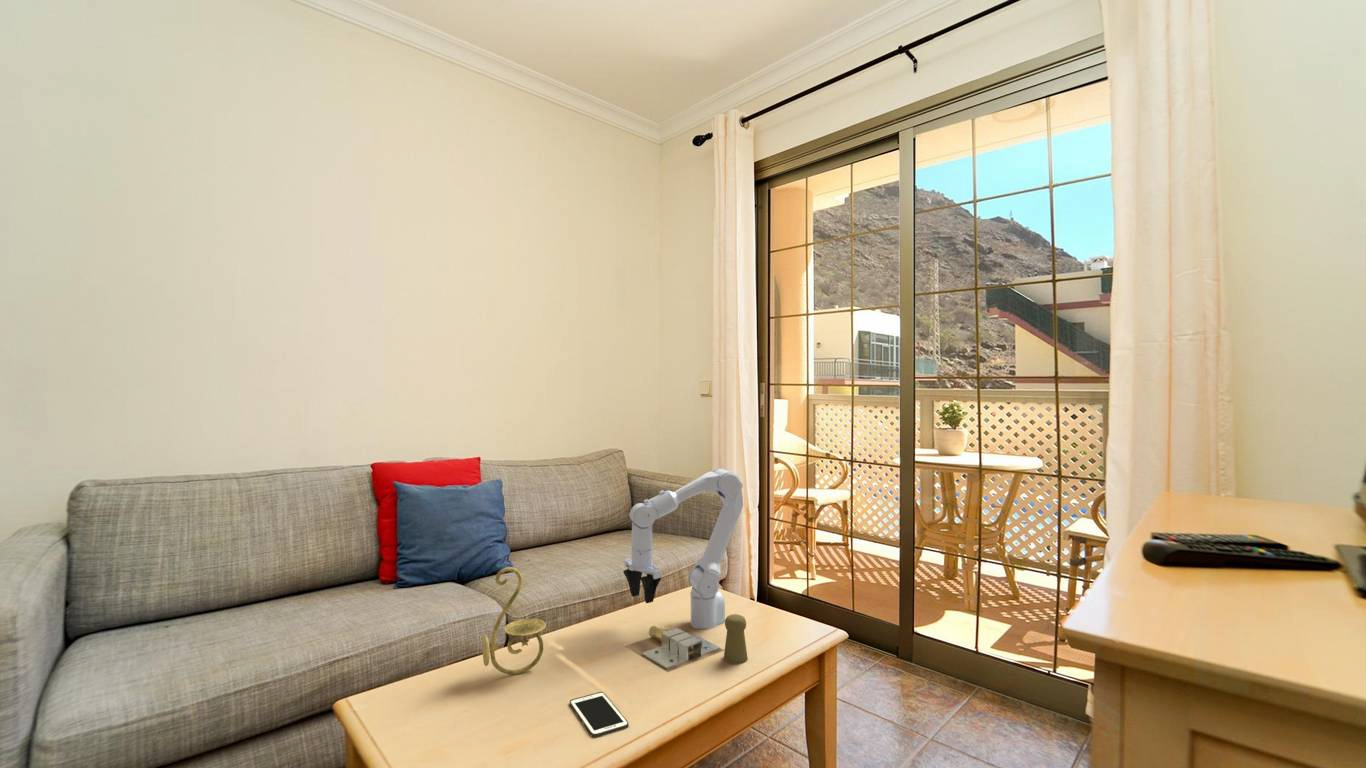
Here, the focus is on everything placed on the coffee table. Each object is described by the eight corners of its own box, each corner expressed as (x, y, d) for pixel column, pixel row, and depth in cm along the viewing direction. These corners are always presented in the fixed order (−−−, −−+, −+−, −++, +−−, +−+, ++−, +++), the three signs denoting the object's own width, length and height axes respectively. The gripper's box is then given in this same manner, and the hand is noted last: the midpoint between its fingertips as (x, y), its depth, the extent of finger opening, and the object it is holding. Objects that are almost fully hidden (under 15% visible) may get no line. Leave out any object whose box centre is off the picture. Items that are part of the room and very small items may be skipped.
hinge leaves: (694, 636, 155) (694, 622, 155) (720, 649, 147) (720, 634, 147) (642, 654, 144) (642, 639, 144) (666, 669, 137) (666, 653, 137)
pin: (648, 638, 154) (648, 627, 154) (657, 635, 156) (657, 624, 156) (672, 650, 146) (672, 639, 146) (680, 647, 148) (680, 636, 148)
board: (679, 630, 161) (679, 627, 161) (724, 653, 147) (724, 650, 147) (624, 649, 149) (624, 645, 149) (667, 675, 135) (667, 671, 135)
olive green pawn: (719, 664, 141) (719, 618, 141) (729, 654, 146) (728, 609, 147) (742, 669, 138) (742, 622, 138) (751, 659, 144) (751, 614, 144)
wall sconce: (487, 690, 129) (487, 576, 129) (481, 672, 137) (481, 565, 138) (550, 676, 135) (550, 567, 136) (540, 659, 144) (540, 557, 144)
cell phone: (602, 695, 127) (602, 690, 127) (630, 729, 115) (630, 724, 115) (568, 704, 124) (568, 699, 124) (592, 740, 111) (592, 735, 111)
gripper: (615, 545, 162) (615, 594, 162) (645, 557, 151) (645, 609, 151) (636, 541, 167) (636, 589, 167) (667, 552, 156) (667, 603, 155)
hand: (642, 598), depth 159 cm, fingers open, 6 cm apart
